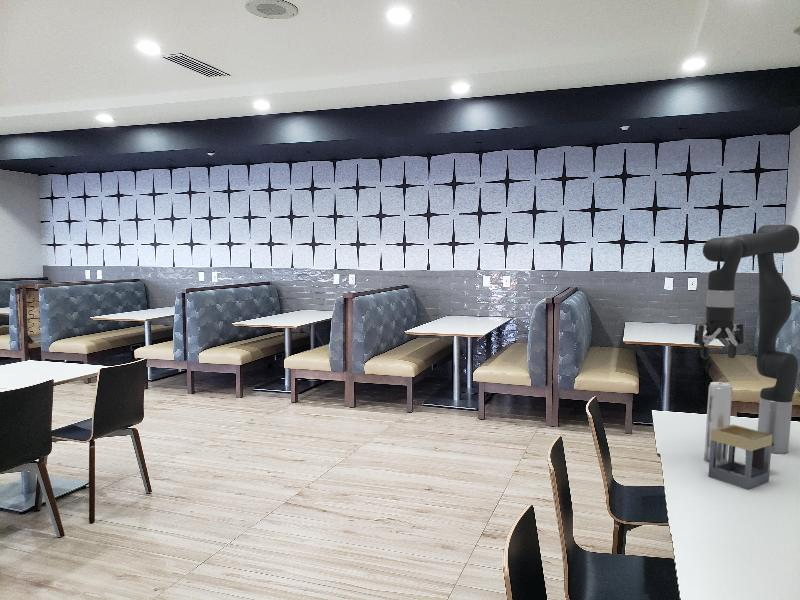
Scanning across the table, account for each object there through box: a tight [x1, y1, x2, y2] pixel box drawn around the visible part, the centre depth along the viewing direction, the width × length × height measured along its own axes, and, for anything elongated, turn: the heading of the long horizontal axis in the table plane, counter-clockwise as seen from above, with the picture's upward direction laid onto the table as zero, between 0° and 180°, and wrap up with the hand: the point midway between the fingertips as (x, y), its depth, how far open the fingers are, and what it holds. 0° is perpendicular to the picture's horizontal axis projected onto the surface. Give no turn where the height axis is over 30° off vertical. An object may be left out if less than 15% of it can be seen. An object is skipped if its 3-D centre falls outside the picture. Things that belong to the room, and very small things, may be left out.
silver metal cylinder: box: [703, 381, 733, 464], centre depth 192 cm, size 6×6×25 cm
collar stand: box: [708, 423, 772, 490], centre depth 178 cm, size 11×11×14 cm
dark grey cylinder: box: [752, 442, 774, 470], centre depth 186 cm, size 8×8×10 cm
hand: (717, 358), depth 186 cm, fingers open, 8 cm apart
